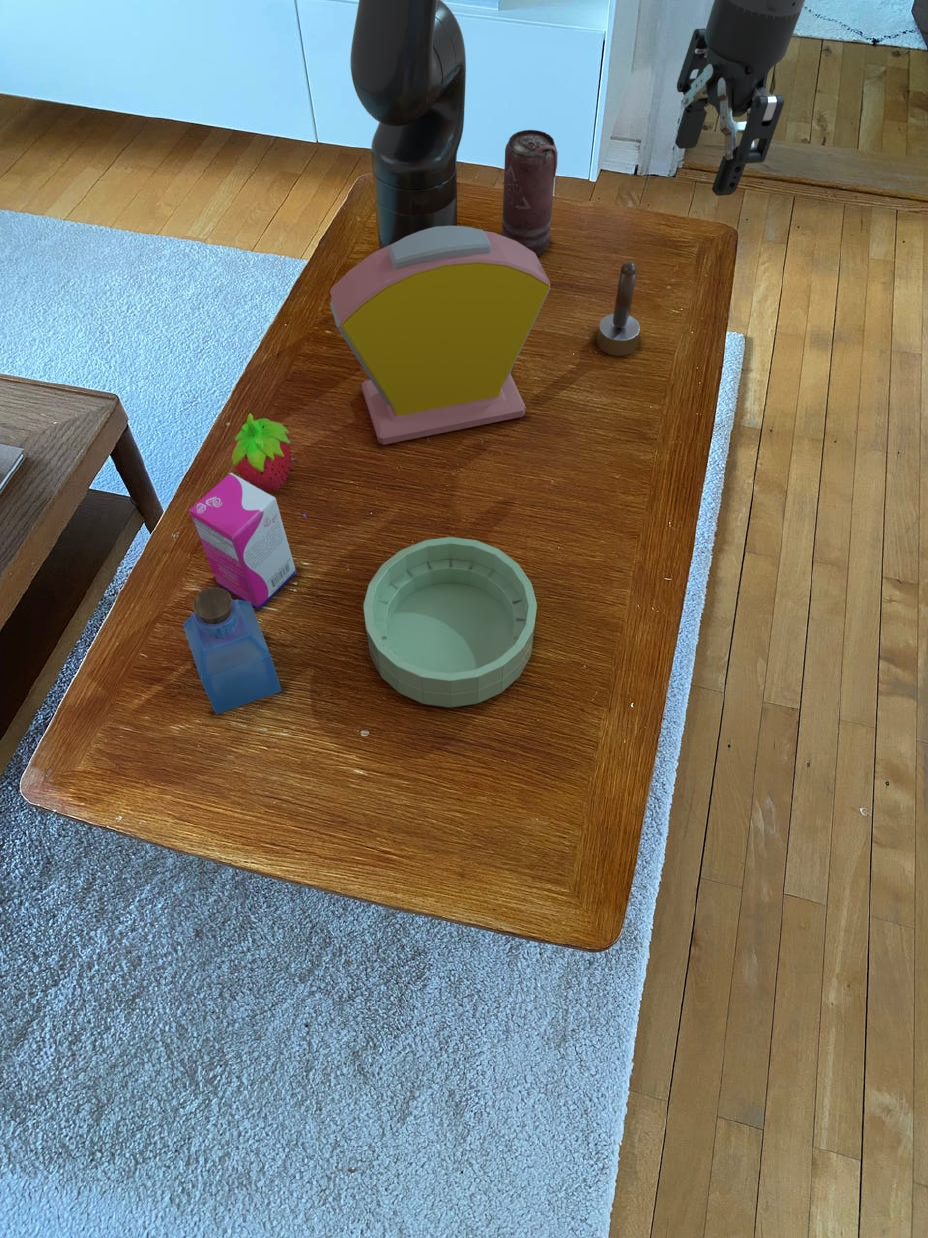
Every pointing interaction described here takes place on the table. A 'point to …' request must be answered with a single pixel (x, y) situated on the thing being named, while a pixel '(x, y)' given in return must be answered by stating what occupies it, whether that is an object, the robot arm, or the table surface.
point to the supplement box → (244, 540)
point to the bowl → (450, 621)
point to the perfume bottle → (229, 650)
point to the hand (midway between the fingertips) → (702, 169)
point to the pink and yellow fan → (440, 328)
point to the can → (529, 189)
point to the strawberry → (262, 453)
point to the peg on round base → (621, 318)
